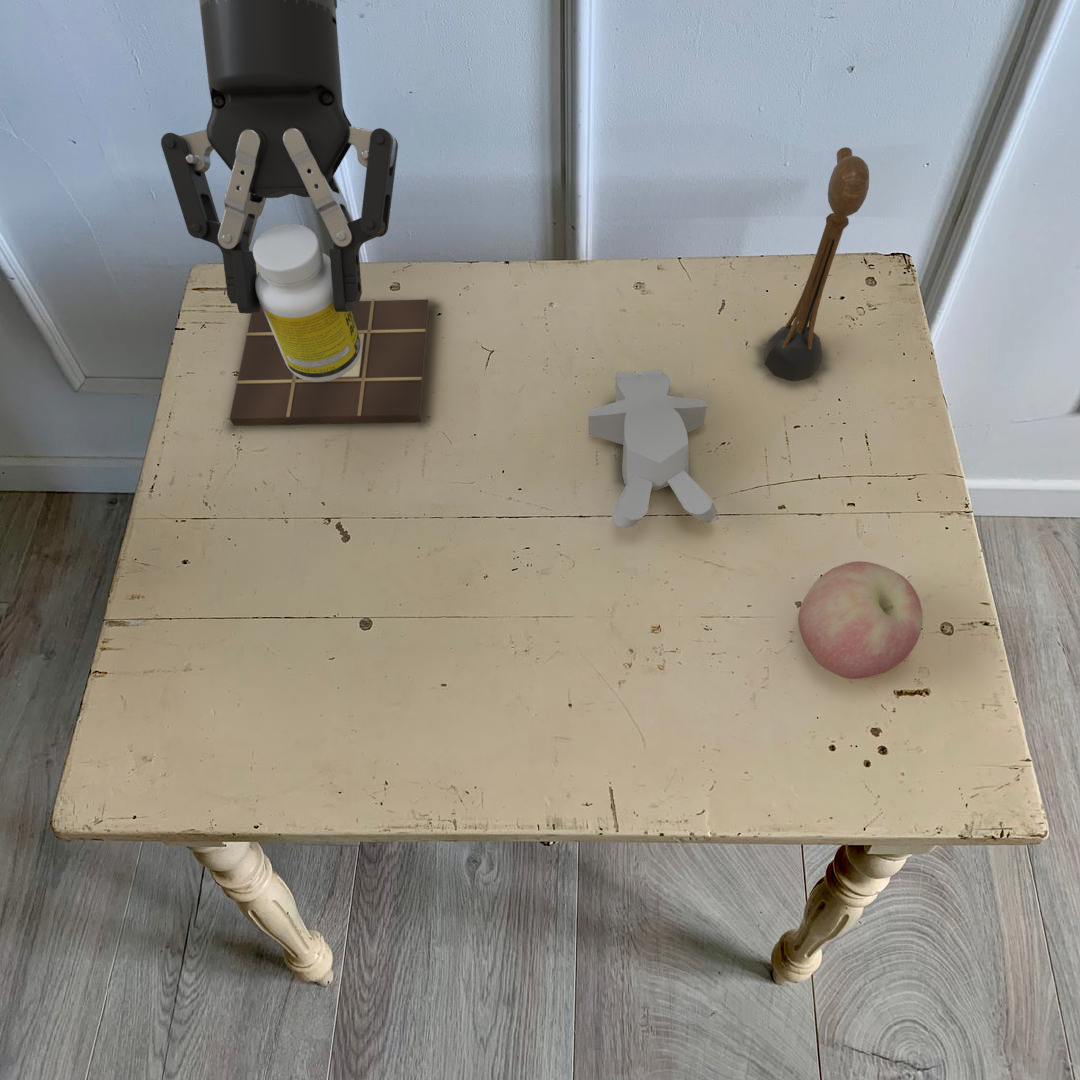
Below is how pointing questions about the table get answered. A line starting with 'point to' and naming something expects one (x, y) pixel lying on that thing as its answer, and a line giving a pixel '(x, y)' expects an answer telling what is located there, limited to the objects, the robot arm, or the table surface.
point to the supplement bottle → (303, 304)
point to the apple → (860, 619)
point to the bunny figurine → (651, 444)
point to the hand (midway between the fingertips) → (297, 310)
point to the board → (357, 396)
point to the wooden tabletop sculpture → (818, 275)
